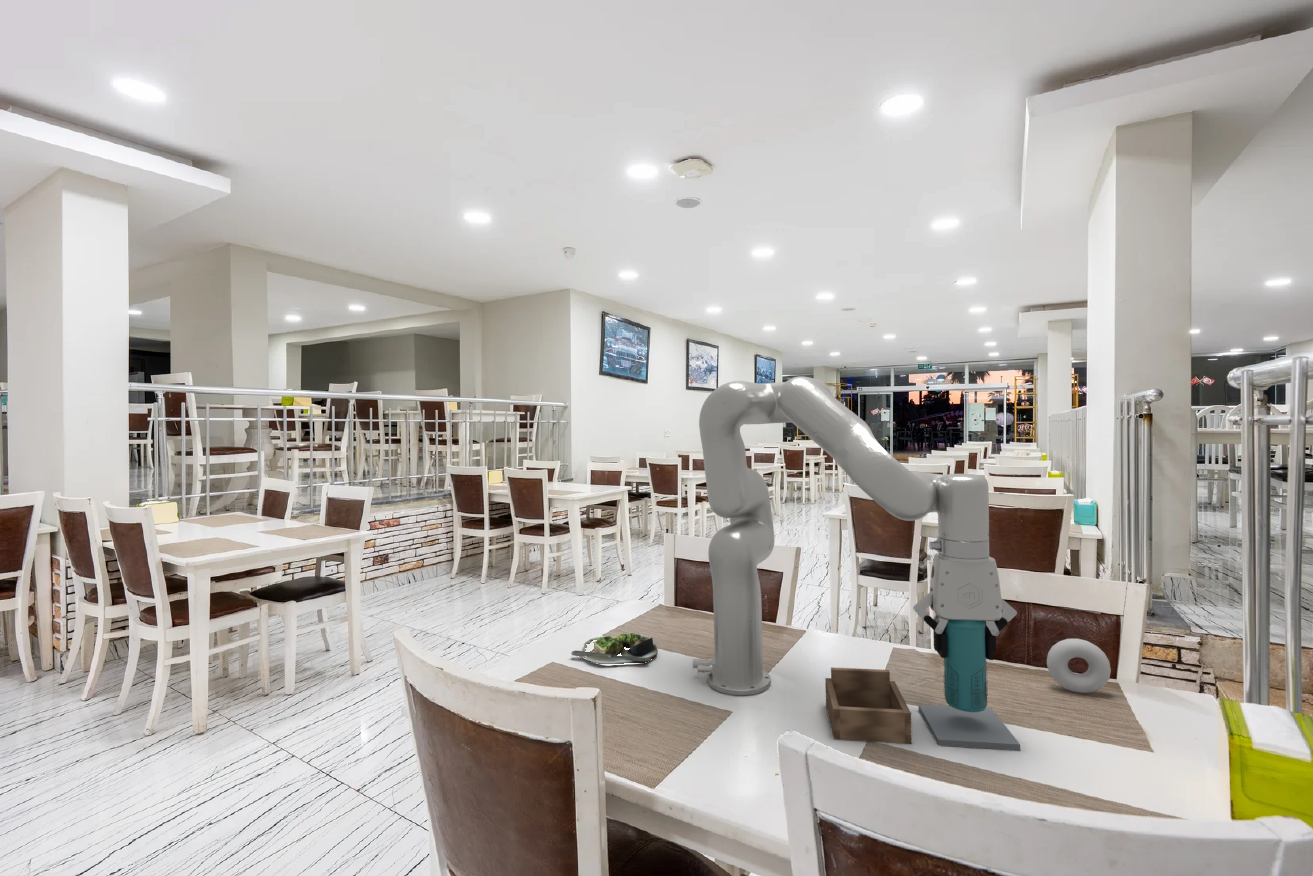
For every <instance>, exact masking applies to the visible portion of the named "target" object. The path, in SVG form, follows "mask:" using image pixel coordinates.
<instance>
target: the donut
mask: <svg viewBox="0 0 1313 876" xmlns="http://www.w3.org/2000/svg"><path fill="white" fill-rule="evenodd" d="M1074 658H1080V659H1083V660H1085V661H1086V663H1087V665H1088V668H1087V669H1086V671H1085V672H1082V673H1076V672H1073V671H1072V670H1070V668H1069V665H1068V663H1069V662H1070V660H1072V659H1074ZM1046 665H1047V670H1048V672H1049V674H1050V675H1051V677H1052V679H1053V680H1054V681H1055V682H1056V683H1057V684H1059V686H1061V687H1063V688H1064V689H1066V690H1068V691H1070V692H1075V693H1077V694H1078V693H1079V694H1090V693H1093V692H1097V691H1099V690H1100V689H1102V688H1103V687H1105V686H1106V684H1107V683H1108V682H1109V680H1110V677H1111V672H1112V668H1111V663H1110V660H1109V659H1108V657H1107V655H1106V654H1105V652H1104V651H1102V649H1101V648H1100V647H1098V646H1097V645H1095V644H1094V643H1092V642H1090V641H1088V640H1085V639H1080V638H1066V639H1063V640H1060V641H1057V642H1056V643H1055V644H1054V645H1052V646H1051V648H1050V649H1049V651H1048V652H1047V657H1046Z"/></svg>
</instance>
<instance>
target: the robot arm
mask: <svg viewBox="0 0 1313 876" xmlns="http://www.w3.org/2000/svg"><path fill="white" fill-rule="evenodd" d="M698 420H699V421H698V423H699V424H698V425H699V426H698V427H699V435H700V441H701V449H702V456H703V466H704V474H705V483H706V484H705V485H706V494H707V501H708V504H709V507H710V509H711V510H712V512H713V513H714V514H715V515H716V516H718V517H720V518H724V519H729V523H730V524H729V525H726V526H724V527H722V528H720V529H719V530H717V532H715V533H714V534H713V536H712V538H711V540H710V541H709V545H708V553H707V555H708V562H709V563H708V564H709V567H710V568H709V569H710V574H711V581H712V601H713V602H712V603H713V604H712V605H713V641H714V644H713V645H714V653H713V657H708V659H707V658H706V659H705V658H704V659H703V658H695V657H694V658H693V659H692V668H693V669H697V673H707V676H706V677H707V684H708V685H709V686H710V688H712V689H714V690H716V691H717V692H719V693H720V692H721V693H723V694H727V695H733V696H750V695H757V694H759V693H762V692H765V691H766V690H768V688H770V686H771V684H772V678H771V675H770V674H769V672H767V670H764V667H763V666H764V665H763V664H764V661H763V654H764V653H763V618H762V617H763V614H762V610H763V609H762V589H761V583H760V579H759V578H760V577H759V573H758V565H759V564H761V563H762V562H764V561H766V560H767V559H768V558H769V557H770V555H772V552H773V550H774V548H775V529H774V522H773V521H774V519H773V512H772V507H771V498H770V492H769V487H768V484H767V482H766V480H765V478H764V477H763V476H762V474H760V473H759V472H758V471H757V470H755V469H753V468H751V467H748V464H747V455H746V454H747V453H746V447H745V443H744V440H743V437H742V434H741V427H742V426H743V425H744V426H745V425H765V424H788V423H790V424H791V423H792V425H794V426H795V427H796V428H798V429H799V430H800V432H801V431H802V433H803V434H804V435H806V436H807V437H808V438H809V439H811V440H812V441H813V442H814V443H815V444H816V445H818V446H819V447H820V449H822V450H823V451H824V452H826V453H827V455H829V456H830V457H831V458H832V459H833V460H834V461H835V463H836V464H837V465H838V466H839V467H840V468H841V470H842V471H844V473H845V474H846V475H847V476H848V477H849V478H850V479H851V480H852V482H853V483H855V485H856V486H858V488H860V489H861V491H863V492H864V493H865V494H866V495H867V496H868V497H870V498H871V499H872V500H873V501H874V502H875V503H876V504H878V505H879V506H880V507H881V508H883V509H884V510H885V511H886V512H887V513H889V514H890V515H892V516H893V517H894V518H897V519H898V520H902V521H908V522H909V521H911V522H914V521H917V520H920V519H922V518H924V517H926V515H928V514H929V513H936V514H937V535H938V536H937V537H936V540H933V541H929V542H928V546H929V550H934V551H936V552H937V553H938V554H935V555H934V557H933V561H932V565H931V573H930V581H929V592H928V593H926V595H925V596H923V597H922V598H921V599H920V600H919V601H918V602H916V603H915V604H914V605H913V607H912V610H913V611H914V612H915V613H916V614H917V615H918V616H919V617H920V618H921V619H922V620H923V621H924V622H925V623H926V624H927V626H929V628H931V630H933V649H934V651H935V652H937V654H938V655H939V656H940V657H941V659H944V658H946V657H947V640H946V634H945V633H944V628H945V626H946V624H947V622H948V620H960V621H985V651H986V659H987V660H990V661H994V654H996V652H997V636H999V634H1000V631H1003V629H1004V628H1005V627H1006V626H1007V625H1009V624H1008V622H1010V621H1012V619H1013V618H1015V617H1016V616H1017V614H1018V612H1017V610H1016V609H1015V608H1014V607H1012V606H1011V605H1010V604H1009V603H1008V602H1007V601H1005V600H1004V599H1003V598H1002V592H1001V585H1000V584H1001V583H1000V578H999V571H998V567H997V562H996V559H995V558H994V557H992V556H990V520H989V519H990V516H989V515H990V512H989V511H990V505H989V501H990V500H989V496H990V495H989V483H988V482H989V481H988V480H987V478H986V477H984V476H983V475H980V474H974V473H949V474H940V473H933V472H926V471H918V470H915V471H910V470H909V469H908V468H907V467H906V466H904V465H903V464H902V463H901V462H900V461H899V460H897V459H896V458H895V457H894V456H893V455H891V454H890V453H889V451H887V450H886V449H885V448H884V447H883V446H882V445H881V444H880V443H879V442H878V440H877V439H876V437H875V436H874V434H873V431H872V429H871V428H870V426H869V424H867V422H866V421H864V419H862V418H861V417H859V416H858V415H857V414H856V413H855V412H853V411H852V410H850V409H849V408H848V407H847V406H845V405H844V404H843V403H842V402H841V401H840V400H838V399H837V398H836V397H835V396H834V395H833V393H832V391H831V389H830V387H829V386H828V385H827V384H826V383H825V382H823V381H822V380H819V379H817V378H813V377H808V376H795V377H792V378H790V379H787V380H786V381H781V382H765V383H764V382H762V383H758V382H751V381H744V380H736V381H730V382H727V383H724V384H722V385H720V386H718V387H717V388H715V389H714V390H713V391H712V392H711V393H710V394H709V395H708V397H706V399H705V401H704V402H703V404H702V406H701V409H700V412H699V419H698ZM928 608H930V609H931V610H932V611H933V612H934V616H933V617H932V616H931V615H930V614H929V613H928V612H927V611H926V610H927V609H928Z"/></svg>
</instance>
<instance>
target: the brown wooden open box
mask: <svg viewBox="0 0 1313 876" xmlns="http://www.w3.org/2000/svg"><path fill="white" fill-rule="evenodd" d="M824 680H825V707H826V711H827V716H828V721H829V724H830V728H831V733H832V737H833V740H838V741H839V740H843V741H854V742H855V741H859V742H872V743H873V742H874V743H886V744H887V743H888V744H889V743H890V744H905V745H906V744H907V745H912V712H911V709H910V708H909V706H908V704H907V703H906V701H905V698H904V697H903V695H902V692H901V691H900V689H899V688H898V685H897V683H896V682H895V681H894V680H891V672H890V670H889V669H874V668H855V667H854V668H852V667H851V668H849V667H833V666H832V667H830V677H825V679H824Z"/></svg>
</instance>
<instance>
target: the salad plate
mask: <svg viewBox="0 0 1313 876" xmlns="http://www.w3.org/2000/svg"><path fill="white" fill-rule="evenodd" d="M613 636H614V635H613ZM613 636H612V635H608V636H596V637H593V638H590V639H588V640H586V641H585V642H584V643H583V645H584V647H583V648H584V651H583V650H573V651H571V655H572V656H574V657H578V656H579V657H578V658H582V657H584V658H586V659H587V660H586V659H585V660H586V661H587V662H589V661H591V662H590V663H592V662H594V663H593V664H595V663H598V664H624V663H644V664H646V663H645V662H647V663H649V662H648V661H650V660H651V659H654V658H655V657H657V656H658V654H659V653H658V651H659V650H658V647H657V646H656V643H655V641H654V640H653V637H651V636H649V635H647V634H642V633H641V634H640V633H633V632H626V633H621V634H619V635H615V636H616V637H617V638H613ZM593 640H597V641H595V642H593V643H594V649H593V650H592V651H590V652H585V651H586V649H585V648H587V645H586V644H590V643H591V642H592V641H593ZM624 647H626V648H630V649H629V650H625V649H624ZM620 653H621V655H622V656H617V655H618V654H620ZM584 658H583V659H584ZM655 659H656V658H655ZM655 659H654V660H655ZM650 662H651V661H650ZM598 664H597V665H598Z"/></svg>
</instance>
